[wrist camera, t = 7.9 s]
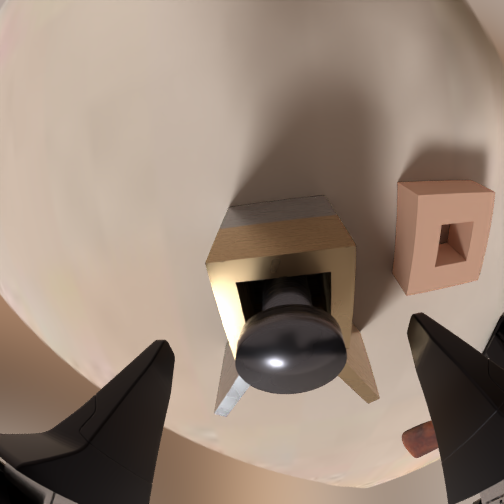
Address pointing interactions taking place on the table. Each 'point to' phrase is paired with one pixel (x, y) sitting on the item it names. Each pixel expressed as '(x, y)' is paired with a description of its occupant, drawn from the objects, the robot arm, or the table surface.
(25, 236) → the table surface
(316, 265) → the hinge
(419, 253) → the pin holder
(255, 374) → the hinge pin
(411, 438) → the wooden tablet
